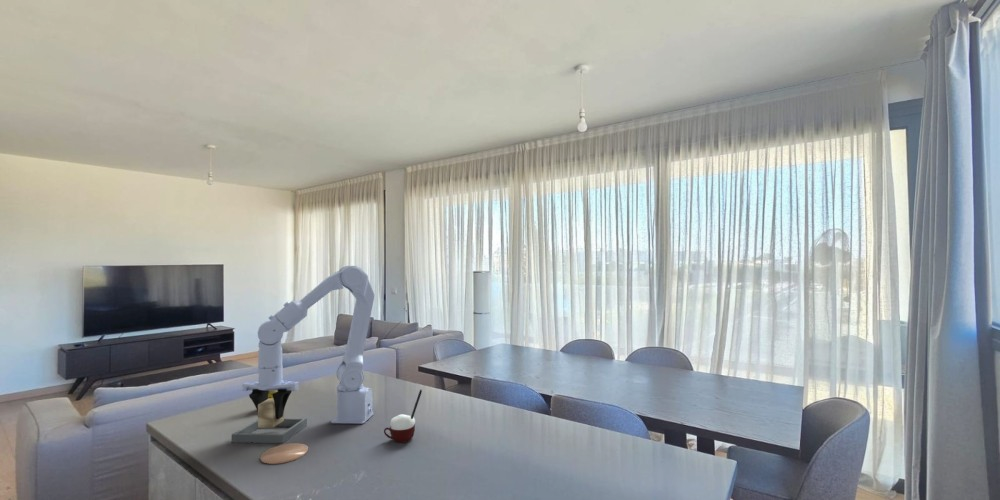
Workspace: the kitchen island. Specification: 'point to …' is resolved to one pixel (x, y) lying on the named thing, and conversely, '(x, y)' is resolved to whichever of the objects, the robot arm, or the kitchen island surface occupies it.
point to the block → (268, 414)
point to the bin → (246, 435)
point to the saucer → (284, 453)
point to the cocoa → (403, 426)
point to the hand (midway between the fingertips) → (271, 417)
